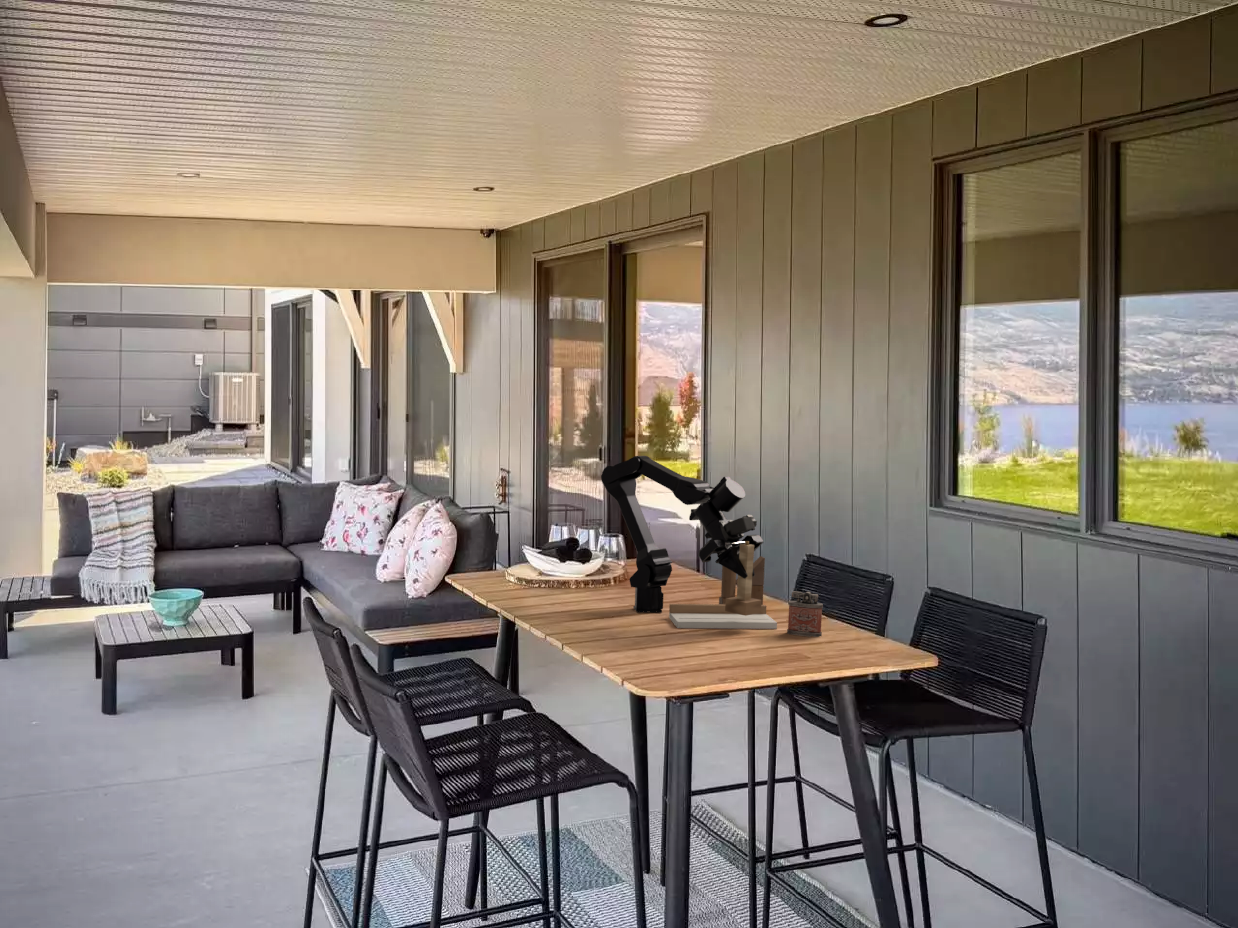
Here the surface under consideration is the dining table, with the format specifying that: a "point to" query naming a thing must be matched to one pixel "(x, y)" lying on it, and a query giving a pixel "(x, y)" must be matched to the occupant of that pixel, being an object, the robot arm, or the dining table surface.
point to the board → (717, 617)
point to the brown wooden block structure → (730, 582)
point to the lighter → (805, 615)
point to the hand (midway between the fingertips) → (749, 576)
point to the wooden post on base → (744, 586)
